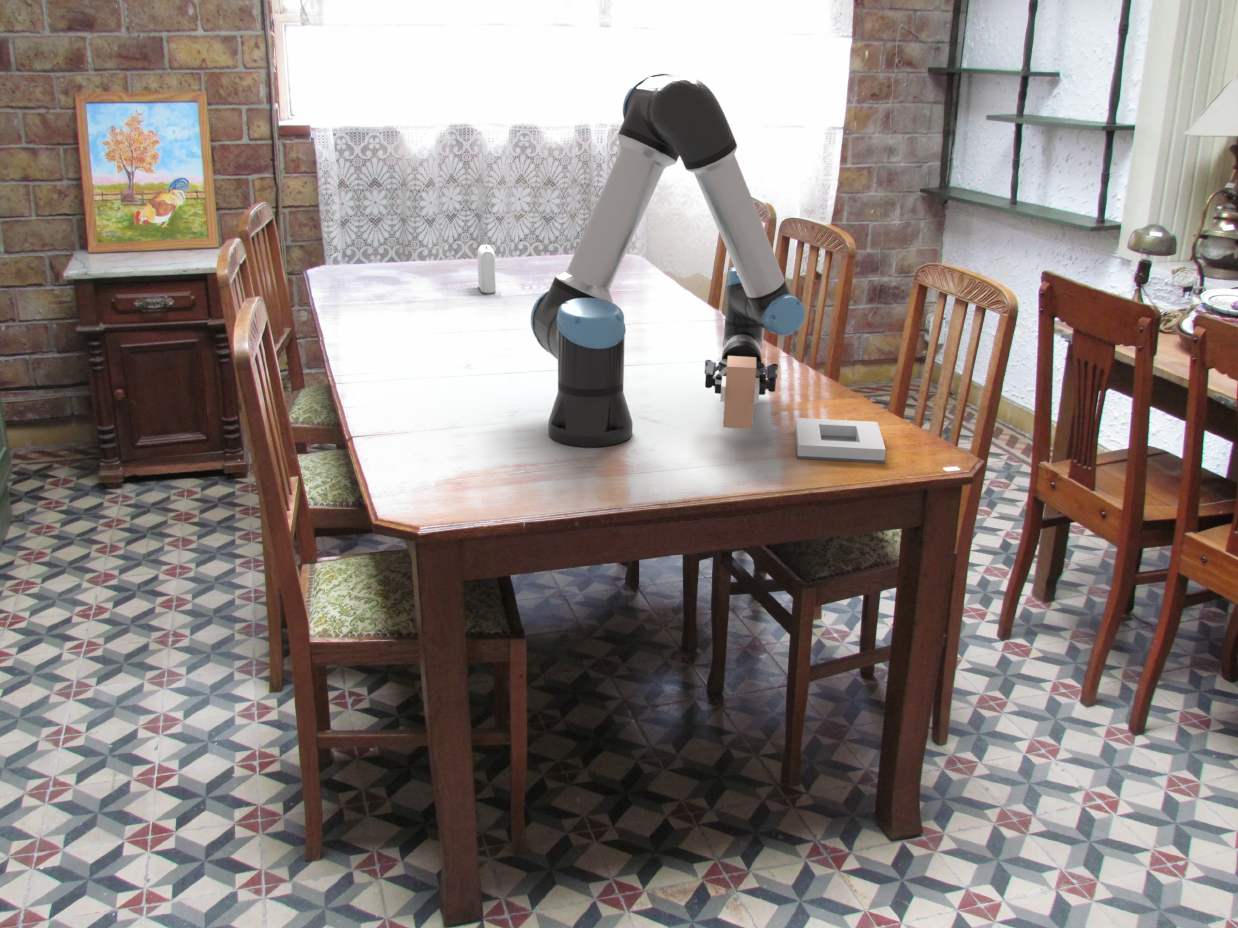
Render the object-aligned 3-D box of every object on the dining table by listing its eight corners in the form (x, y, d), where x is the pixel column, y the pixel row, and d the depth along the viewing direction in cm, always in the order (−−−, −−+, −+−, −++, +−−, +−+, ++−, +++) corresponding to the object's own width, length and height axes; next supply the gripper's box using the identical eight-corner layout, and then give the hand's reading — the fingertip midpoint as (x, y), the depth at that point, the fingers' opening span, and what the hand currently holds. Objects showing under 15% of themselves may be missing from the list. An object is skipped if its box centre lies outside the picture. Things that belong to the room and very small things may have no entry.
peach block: (723, 427, 198) (726, 366, 194) (724, 415, 205) (727, 355, 201) (752, 429, 198) (756, 368, 194) (752, 416, 204) (756, 357, 200)
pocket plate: (797, 458, 195) (798, 444, 194) (794, 430, 208) (795, 417, 207) (884, 463, 193) (885, 449, 192) (876, 435, 207) (877, 421, 206)
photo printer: (477, 286, 321) (476, 242, 316) (492, 285, 322) (491, 241, 317) (481, 294, 311) (479, 248, 307) (496, 293, 312) (495, 248, 308)
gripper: (788, 381, 216) (791, 419, 194) (693, 375, 218) (685, 413, 196) (791, 342, 213) (794, 377, 192) (694, 337, 215) (687, 371, 194)
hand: (739, 395), depth 194 cm, fingers closed on peach block, 5 cm apart
